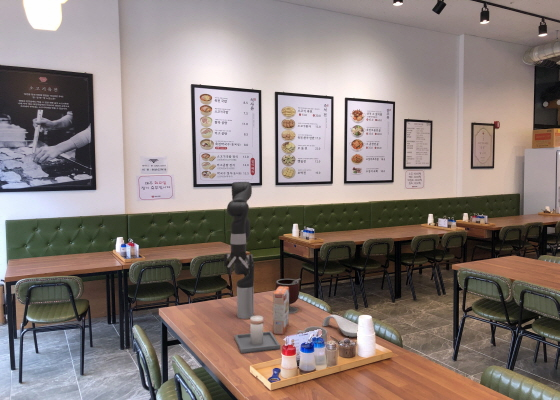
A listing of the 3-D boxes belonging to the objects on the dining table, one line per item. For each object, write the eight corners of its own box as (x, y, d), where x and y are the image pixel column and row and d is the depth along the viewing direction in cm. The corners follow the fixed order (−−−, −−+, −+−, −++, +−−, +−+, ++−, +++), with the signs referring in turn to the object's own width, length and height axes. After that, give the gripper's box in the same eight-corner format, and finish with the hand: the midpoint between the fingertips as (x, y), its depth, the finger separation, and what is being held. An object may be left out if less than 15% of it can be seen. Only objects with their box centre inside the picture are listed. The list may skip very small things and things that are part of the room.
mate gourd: (270, 311, 255) (270, 277, 254) (283, 305, 267) (283, 272, 266) (294, 316, 247) (294, 281, 246) (306, 309, 259) (306, 276, 257)
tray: (234, 338, 215) (234, 334, 215) (270, 335, 219) (270, 331, 219) (241, 353, 197) (241, 349, 197) (280, 349, 202) (280, 345, 202)
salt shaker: (249, 340, 211) (249, 315, 210) (261, 339, 212) (262, 315, 211) (251, 345, 205) (251, 320, 204) (264, 344, 206) (264, 319, 205)
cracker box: (284, 335, 219) (284, 293, 218) (272, 334, 221) (272, 293, 219) (289, 325, 233) (289, 286, 232) (278, 324, 234) (278, 285, 233)
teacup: (329, 344, 208) (329, 327, 207) (324, 353, 198) (324, 336, 197) (300, 340, 212) (300, 324, 212) (294, 349, 202) (294, 332, 202)
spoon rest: (368, 335, 219) (368, 321, 219) (353, 341, 211) (353, 327, 211) (332, 323, 237) (332, 310, 236) (317, 328, 229) (317, 315, 228)
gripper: (254, 241, 219) (254, 273, 221) (226, 240, 222) (226, 272, 223) (250, 244, 212) (250, 277, 213) (222, 243, 215) (222, 276, 216)
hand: (238, 275), depth 218 cm, fingers open, 8 cm apart
